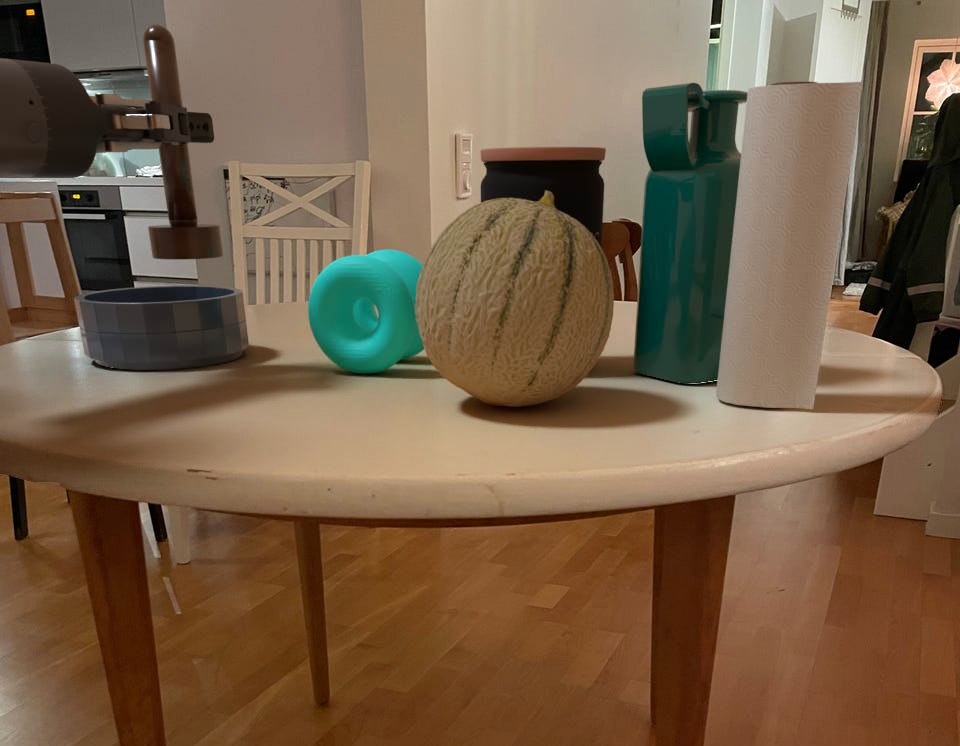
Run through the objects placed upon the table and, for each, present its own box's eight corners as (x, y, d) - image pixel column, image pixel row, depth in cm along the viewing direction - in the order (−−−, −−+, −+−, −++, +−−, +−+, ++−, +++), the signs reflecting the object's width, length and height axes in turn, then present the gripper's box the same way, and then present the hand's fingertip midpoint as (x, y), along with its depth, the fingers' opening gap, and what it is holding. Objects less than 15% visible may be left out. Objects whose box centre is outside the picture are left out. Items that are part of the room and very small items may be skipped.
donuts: (307, 374, 84) (297, 255, 79) (352, 355, 92) (345, 248, 88) (410, 379, 81) (405, 257, 77) (446, 359, 90) (443, 249, 85)
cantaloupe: (379, 407, 71) (367, 192, 64) (500, 378, 81) (501, 189, 74) (529, 437, 62) (534, 192, 56) (645, 401, 72) (660, 189, 65)
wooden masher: (142, 259, 79) (104, 19, 71) (167, 254, 84) (134, 30, 76) (210, 259, 78) (180, 18, 70) (231, 254, 84) (205, 29, 76)
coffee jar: (512, 381, 79) (513, 146, 71) (463, 362, 88) (460, 150, 80) (617, 371, 83) (630, 146, 75) (561, 353, 92) (567, 150, 84)
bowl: (58, 371, 86) (44, 303, 83) (125, 344, 100) (115, 285, 97) (222, 372, 85) (213, 303, 82) (267, 344, 99) (260, 285, 96)
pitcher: (691, 362, 87) (716, 93, 77) (760, 376, 81) (796, 85, 71) (611, 373, 82) (627, 89, 73) (677, 389, 76) (704, 80, 66)
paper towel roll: (706, 393, 75) (736, 87, 65) (779, 392, 75) (820, 87, 65) (733, 413, 68) (771, 77, 59) (813, 412, 68) (864, 77, 59)
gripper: (58, 51, 61) (250, 72, 74) (-56, 64, 68) (138, 82, 81) (81, 177, 64) (261, 177, 77) (-31, 178, 71) (152, 178, 84)
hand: (197, 128), depth 79 cm, fingers closed on wooden masher, 2 cm apart
